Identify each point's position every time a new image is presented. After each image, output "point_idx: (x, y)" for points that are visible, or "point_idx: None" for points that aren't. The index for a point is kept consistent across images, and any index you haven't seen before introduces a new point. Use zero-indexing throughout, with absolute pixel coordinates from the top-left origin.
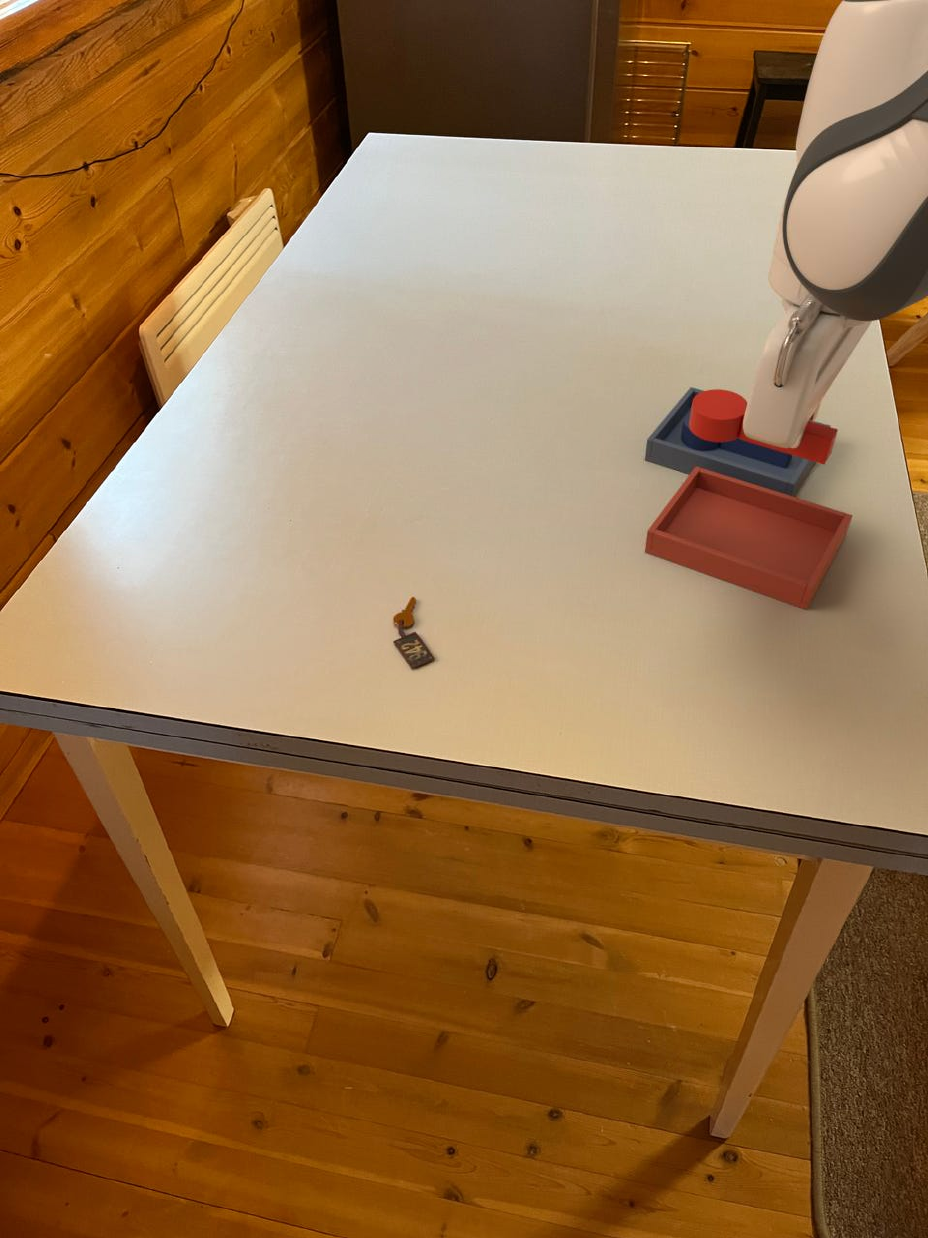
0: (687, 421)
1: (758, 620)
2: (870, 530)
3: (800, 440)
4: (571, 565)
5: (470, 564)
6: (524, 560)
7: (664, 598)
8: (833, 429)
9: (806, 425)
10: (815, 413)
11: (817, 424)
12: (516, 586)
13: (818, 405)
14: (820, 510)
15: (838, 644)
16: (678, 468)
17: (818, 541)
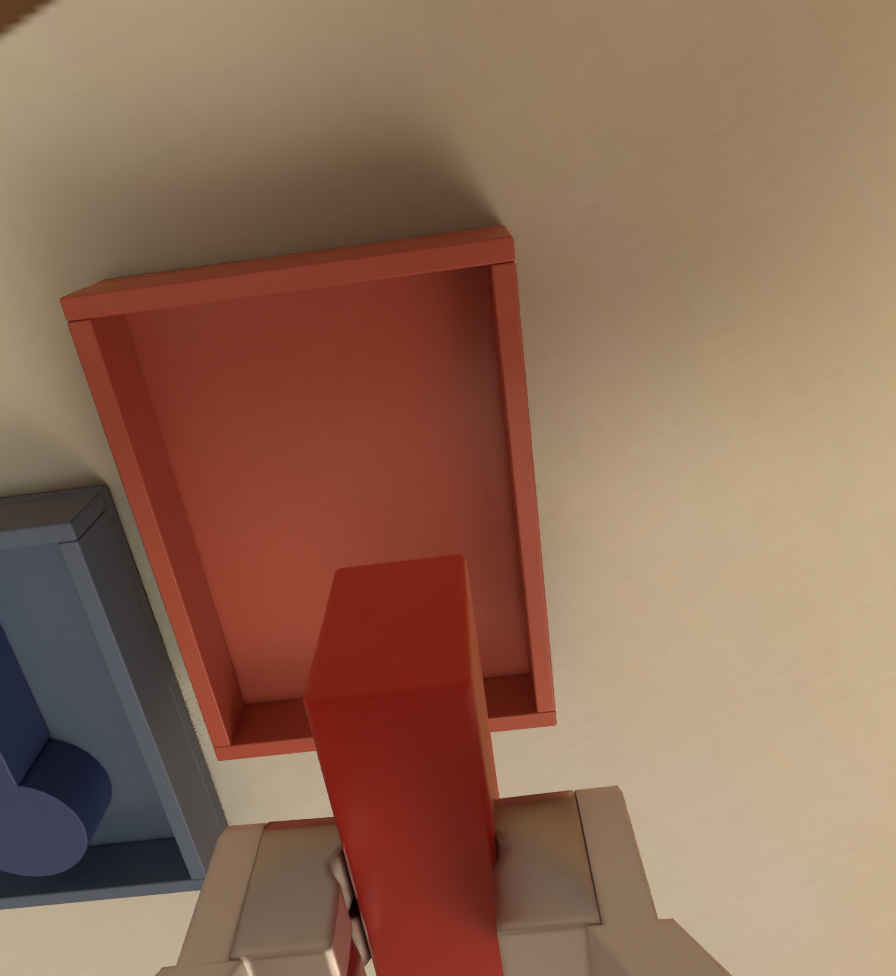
0: (64, 861)
1: (625, 323)
2: (7, 225)
3: (611, 821)
4: (686, 763)
5: (793, 896)
6: (725, 835)
7: (679, 558)
8: (335, 722)
9: (536, 906)
10: (287, 900)
11: (347, 818)
12: (813, 807)
13: (241, 957)
14: (119, 398)
15: (592, 62)
16: (203, 765)
17: (206, 338)
